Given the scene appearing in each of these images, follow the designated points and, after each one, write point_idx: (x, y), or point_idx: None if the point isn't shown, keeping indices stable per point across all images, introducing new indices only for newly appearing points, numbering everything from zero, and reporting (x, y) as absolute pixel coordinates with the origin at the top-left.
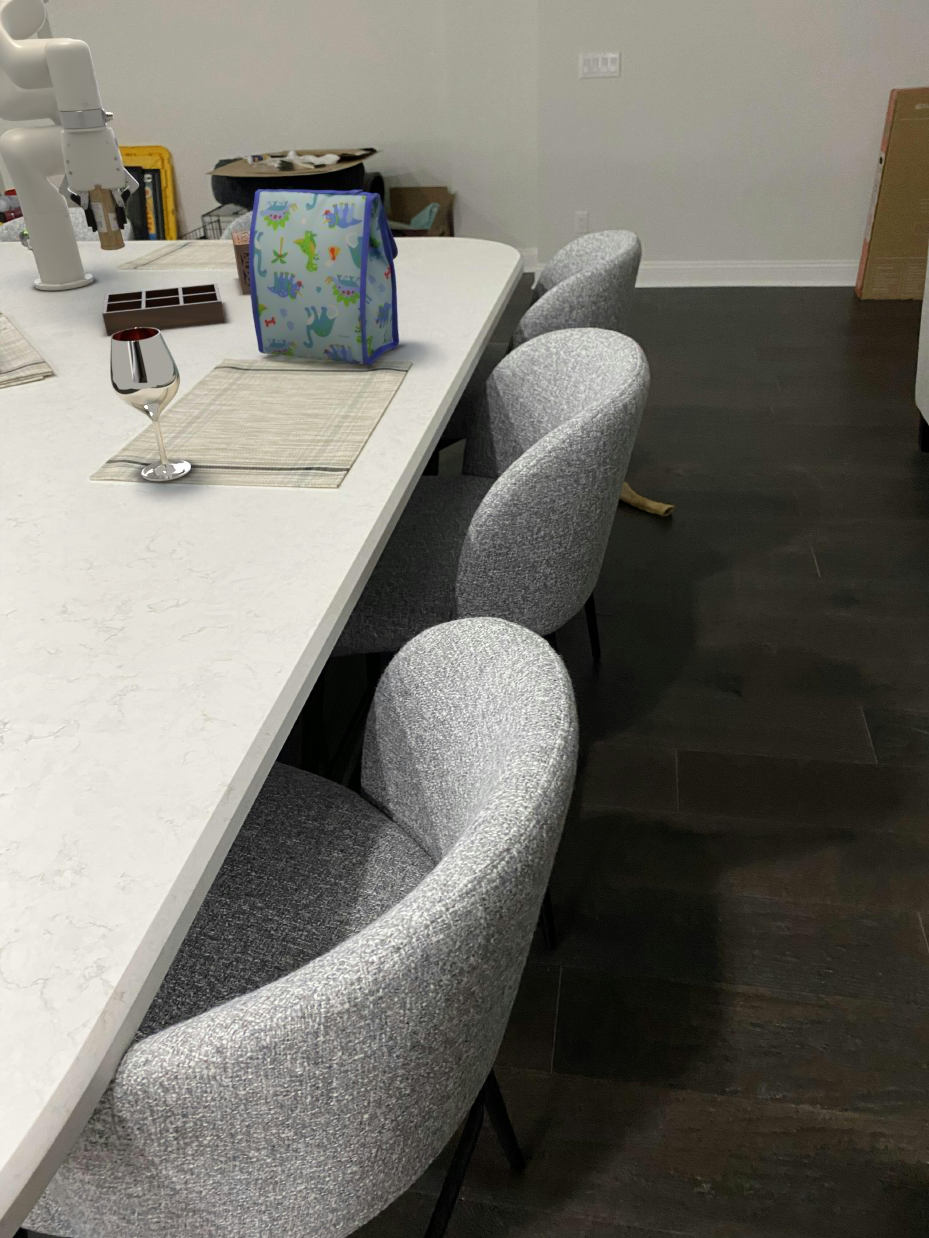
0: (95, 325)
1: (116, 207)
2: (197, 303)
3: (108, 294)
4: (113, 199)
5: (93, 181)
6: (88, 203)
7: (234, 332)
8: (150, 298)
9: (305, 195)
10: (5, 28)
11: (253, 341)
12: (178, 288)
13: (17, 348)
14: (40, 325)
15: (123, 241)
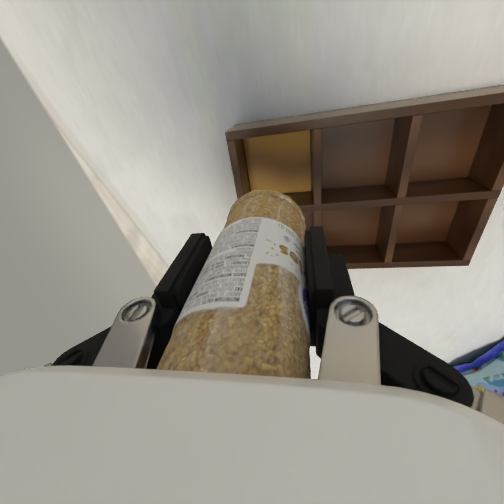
0: (223, 191)
1: (316, 354)
2: (418, 265)
3: (233, 136)
4: (309, 362)
5: None
6: (164, 334)
7: (441, 289)
8: (332, 203)
9: None
10: None
11: (450, 326)
12: (412, 124)
13: (151, 266)
14: (124, 162)
15: (303, 231)
